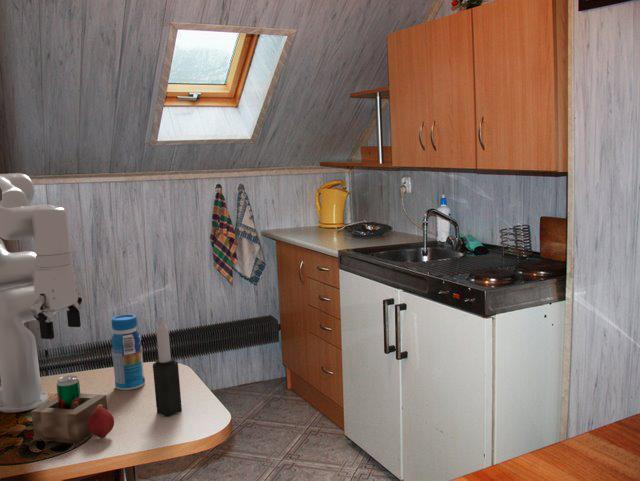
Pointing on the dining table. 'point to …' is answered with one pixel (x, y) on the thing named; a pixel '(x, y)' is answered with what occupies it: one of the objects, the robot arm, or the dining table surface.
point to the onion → (100, 422)
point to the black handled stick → (166, 375)
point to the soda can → (68, 392)
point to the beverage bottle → (127, 353)
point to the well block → (65, 419)
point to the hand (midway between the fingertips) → (61, 332)
